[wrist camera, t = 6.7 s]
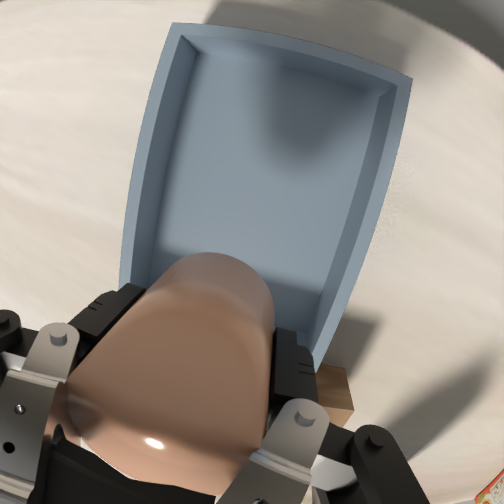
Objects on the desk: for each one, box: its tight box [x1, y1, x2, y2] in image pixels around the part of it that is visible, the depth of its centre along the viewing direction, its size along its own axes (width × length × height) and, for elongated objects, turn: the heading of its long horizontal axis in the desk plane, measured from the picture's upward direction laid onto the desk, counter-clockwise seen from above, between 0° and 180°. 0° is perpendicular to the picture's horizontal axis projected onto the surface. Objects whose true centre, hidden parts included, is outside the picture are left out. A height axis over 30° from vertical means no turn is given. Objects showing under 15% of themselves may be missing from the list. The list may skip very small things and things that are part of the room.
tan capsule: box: [66, 252, 275, 495], centre depth 9 cm, size 5×5×7 cm
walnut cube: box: [315, 364, 354, 428], centre depth 21 cm, size 5×5×5 cm
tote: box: [118, 22, 413, 372], centre depth 17 cm, size 14×19×4 cm
